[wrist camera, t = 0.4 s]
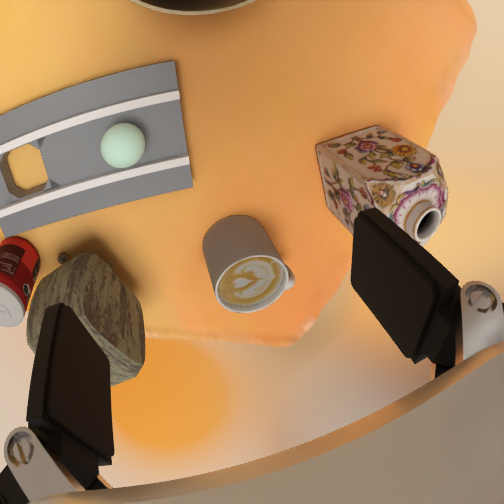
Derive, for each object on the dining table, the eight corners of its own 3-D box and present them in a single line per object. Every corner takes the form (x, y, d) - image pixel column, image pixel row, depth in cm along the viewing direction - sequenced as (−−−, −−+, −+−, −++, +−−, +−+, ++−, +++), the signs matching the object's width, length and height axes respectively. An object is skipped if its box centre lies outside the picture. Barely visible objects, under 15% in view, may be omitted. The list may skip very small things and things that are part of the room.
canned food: (23, 284, 41) (7, 334, 33) (-9, 252, 36) (-34, 300, 28) (50, 261, 41) (34, 313, 33) (16, 225, 36) (-10, 273, 27)
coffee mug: (189, 253, 48) (199, 299, 40) (229, 203, 45) (248, 242, 37) (254, 284, 55) (273, 326, 47) (292, 242, 52) (318, 281, 44)
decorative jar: (312, 143, 42) (390, 201, 29) (377, 122, 43) (465, 168, 29) (325, 210, 50) (389, 281, 36) (383, 186, 50) (455, 245, 37)
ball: (100, 125, 31) (92, 136, 27) (141, 114, 32) (139, 123, 28) (109, 164, 34) (103, 180, 30) (149, 154, 35) (148, 168, 31)
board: (173, 60, 31) (175, 60, 28) (191, 179, 41) (194, 190, 38) (-26, 128, 26) (-38, 136, 23) (11, 228, 36) (3, 241, 33)
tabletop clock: (48, 251, 40) (8, 401, 21) (91, 221, 40) (62, 379, 21) (104, 309, 49) (103, 449, 30) (146, 287, 49) (160, 434, 30)
